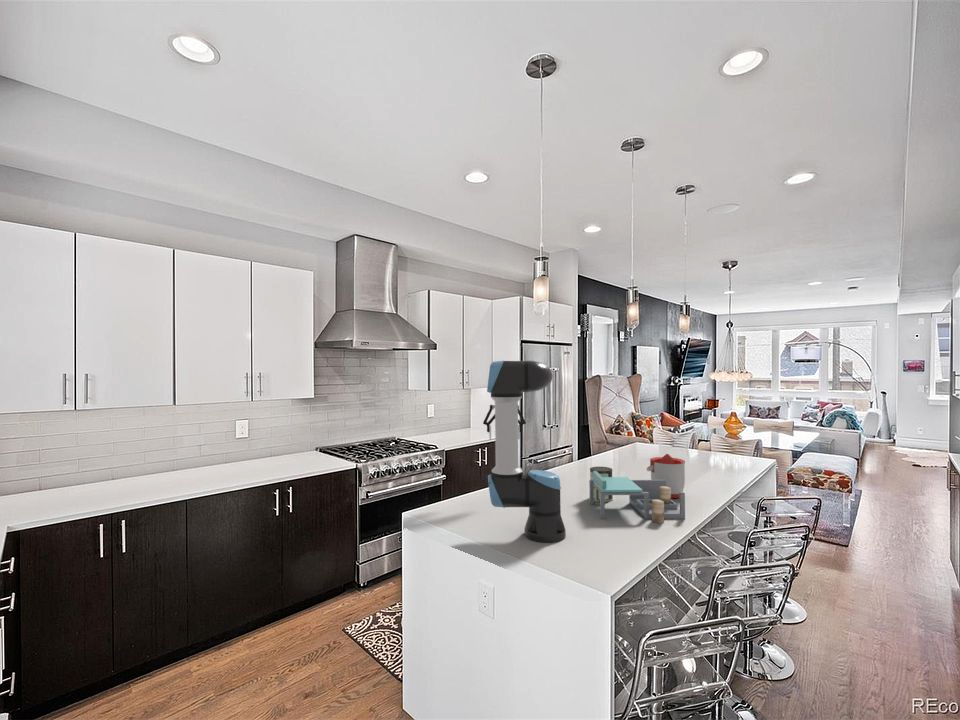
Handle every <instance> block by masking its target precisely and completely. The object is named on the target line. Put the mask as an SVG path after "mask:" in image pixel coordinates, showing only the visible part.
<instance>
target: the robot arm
mask: <svg viewBox="0 0 960 720" xmlns="http://www.w3.org/2000/svg"><path fill="white" fill-rule="evenodd" d="M487 379H488V380H487V388H486V392H487V393H488V394H489V393H490V398H491V399H492V400H493V401H494V405H493V404H490V405H489V409H488V412H487V413H486V415H485V418H484V420H483V422H482V424H483V425H484V426H486V432H487V433H489V440H490V441H491V440H492V423H493V421H494V423H495V424H494V429H495V430H494V433H495V435H494V436H495V439H494V440H495V441H494V443H495V466H494V467H493V468H492V469H491V474H489V475H487V483H488V490H489V499H490V503H491V505H492V506H493V507H495V508H503V509H505V508H528V516H527V520H526V523H525V526H524V536H525V537H526V538H527V539H529V540H531V541H535V542H540V543H555V542H560V541H563V540H564V539H566V536H567V535H566V534H567V533H566V527H565V523H564V521H563V518H562V513H561V512H562V511H561V490H562V487H561V478H560V477H559V475H558V474H557V473H555V472H553V471H547V470H544V469H543V470H542V469H531V470H529V471H528V473H527V474H524V471H523V469H522V467H520V464H519V463H520V462H519V440H520V439H521V433H523V425H526V423H527V422H526V420H525V418H524V416H523V415H522V412H521V409H520V405H519V401H520V400H521V399H522V397H523V393H533V392H538V391H540V390H543V389H546V388H547V387H548V386H549V385H550V384H551V383H552V381H553V371H552V369H551V368H550V366H548V364H545V363H542V362H540V361H534V360H498V361H497V360H495V361H493V362H491V363H490V365H489V373H488V378H487ZM493 410H494V414H493V416H492V417H491V418H490V415H491V414H492V411H493ZM519 417H520V419H519ZM489 418H490V419H489Z"/></svg>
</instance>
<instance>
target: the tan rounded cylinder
mask: <svg viewBox="0 0 960 720" xmlns="http://www.w3.org/2000/svg"><path fill="white" fill-rule="evenodd" d="M651 522H653V523H655V524H663V523H664V524H665V519H664V501H661V500H652V519H651Z"/></svg>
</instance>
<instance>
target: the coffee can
mask: <svg viewBox="0 0 960 720" xmlns="http://www.w3.org/2000/svg"><path fill="white" fill-rule="evenodd" d="M589 470H590V471H589V480H592V477H593V471H597V472H598V473H599V474H600V475H601V476H602V477H613V468H611V467H607V466H593V467H589ZM593 489H594V502H599V503H600V492H602V490H601V489H600V488H599V487H598V486H597V485H596V484H595V483H593ZM613 496H614V495H605V502H606V503H607V502H611V501H613V499H614V497H613Z"/></svg>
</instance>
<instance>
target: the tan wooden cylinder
mask: <svg viewBox="0 0 960 720" xmlns="http://www.w3.org/2000/svg"><path fill="white" fill-rule="evenodd" d="M659 490H660V500H661V501H664V504H671V500H672V498H671V488H670V487H665V486H661V487H659Z"/></svg>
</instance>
